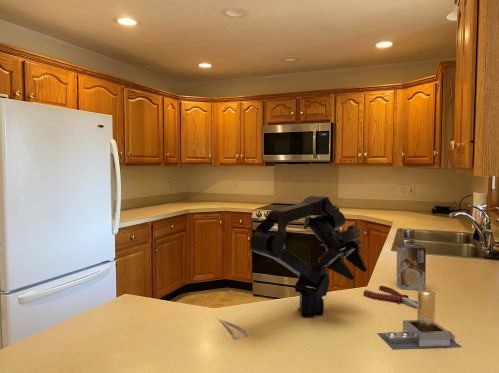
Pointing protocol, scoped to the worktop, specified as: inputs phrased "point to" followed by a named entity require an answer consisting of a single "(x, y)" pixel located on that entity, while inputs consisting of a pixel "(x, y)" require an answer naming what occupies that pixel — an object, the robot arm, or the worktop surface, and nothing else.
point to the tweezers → (235, 328)
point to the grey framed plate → (421, 336)
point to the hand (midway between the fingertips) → (359, 275)
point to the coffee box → (411, 267)
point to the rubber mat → (411, 344)
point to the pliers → (391, 296)
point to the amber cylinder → (426, 310)
